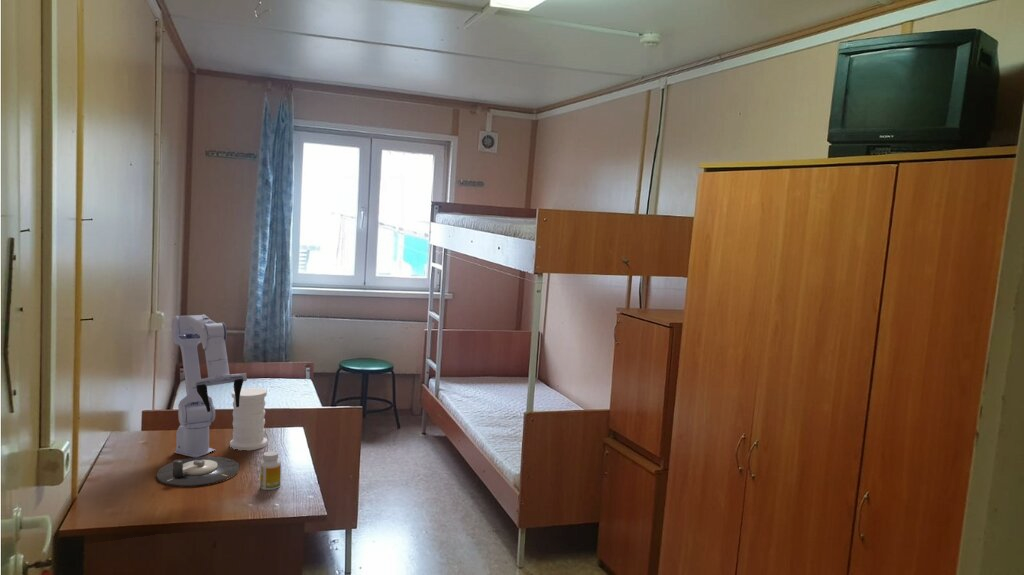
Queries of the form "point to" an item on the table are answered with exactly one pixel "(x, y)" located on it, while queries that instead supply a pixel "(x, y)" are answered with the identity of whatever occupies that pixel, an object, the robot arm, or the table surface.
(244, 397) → the decorative container
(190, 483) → the dial plate
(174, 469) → the dial
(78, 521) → the table surface
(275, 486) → the supplement bottle
